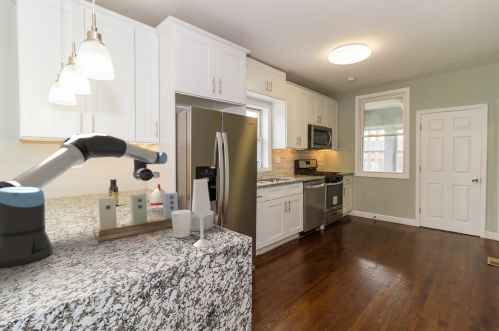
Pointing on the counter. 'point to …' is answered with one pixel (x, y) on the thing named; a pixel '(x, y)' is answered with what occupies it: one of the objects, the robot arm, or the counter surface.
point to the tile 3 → (169, 204)
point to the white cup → (181, 223)
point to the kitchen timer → (157, 196)
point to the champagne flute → (201, 207)
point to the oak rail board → (132, 229)
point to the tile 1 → (107, 213)
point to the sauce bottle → (113, 190)
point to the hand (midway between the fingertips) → (157, 175)
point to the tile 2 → (138, 208)
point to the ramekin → (206, 221)
